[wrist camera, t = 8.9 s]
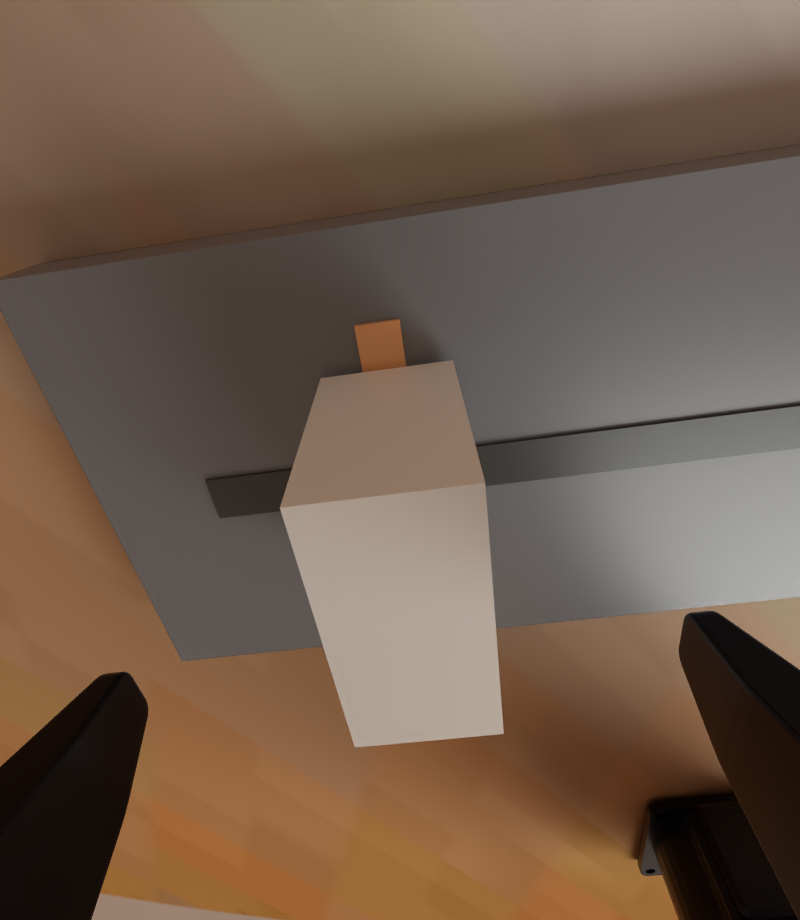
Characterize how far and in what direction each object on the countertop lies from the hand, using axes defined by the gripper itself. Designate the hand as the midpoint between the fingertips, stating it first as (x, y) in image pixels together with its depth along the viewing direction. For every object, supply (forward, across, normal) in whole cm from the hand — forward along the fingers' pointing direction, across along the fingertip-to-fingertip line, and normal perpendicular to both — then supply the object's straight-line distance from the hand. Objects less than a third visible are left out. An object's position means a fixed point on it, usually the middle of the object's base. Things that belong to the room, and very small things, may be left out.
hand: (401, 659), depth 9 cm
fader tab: (+6, 0, 0) cm, 6 cm away
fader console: (+8, -7, 0) cm, 11 cm away
